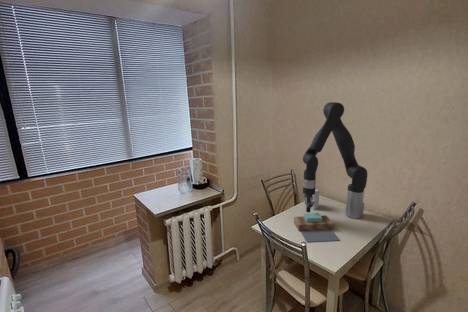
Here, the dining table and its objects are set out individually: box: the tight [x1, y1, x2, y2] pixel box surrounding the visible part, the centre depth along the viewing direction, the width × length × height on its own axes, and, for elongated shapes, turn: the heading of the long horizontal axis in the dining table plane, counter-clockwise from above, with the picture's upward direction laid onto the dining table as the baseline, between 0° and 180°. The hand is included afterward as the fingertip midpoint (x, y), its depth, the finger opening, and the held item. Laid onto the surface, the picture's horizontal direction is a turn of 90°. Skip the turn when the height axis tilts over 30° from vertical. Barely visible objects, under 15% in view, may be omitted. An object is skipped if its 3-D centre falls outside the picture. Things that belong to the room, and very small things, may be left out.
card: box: [303, 212, 322, 222], centre depth 148 cm, size 9×6×2 cm, turn 92°
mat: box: [300, 230, 341, 243], centre depth 138 cm, size 18×11×1 cm, turn 92°
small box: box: [303, 188, 320, 211], centre depth 173 cm, size 8×6×13 cm
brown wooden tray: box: [293, 214, 334, 232], centre depth 148 cm, size 20×10×4 cm, turn 92°
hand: (308, 211), depth 156 cm, fingers closed
